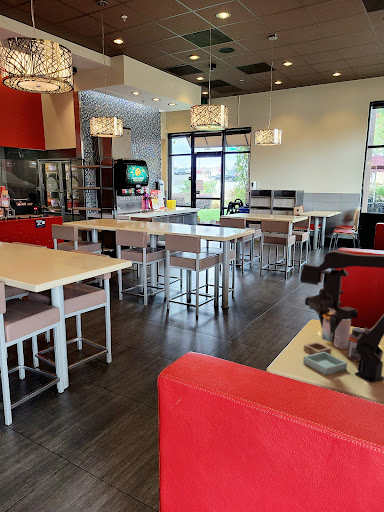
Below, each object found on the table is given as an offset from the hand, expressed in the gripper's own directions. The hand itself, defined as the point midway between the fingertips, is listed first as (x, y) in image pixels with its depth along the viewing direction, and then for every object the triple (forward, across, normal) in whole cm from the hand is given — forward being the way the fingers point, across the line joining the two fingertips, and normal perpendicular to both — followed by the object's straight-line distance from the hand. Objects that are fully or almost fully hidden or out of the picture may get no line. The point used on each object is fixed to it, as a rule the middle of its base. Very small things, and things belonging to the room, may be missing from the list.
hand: (327, 330), depth 132 cm
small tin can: (+3, 0, 0) cm, 3 cm away
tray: (+13, 0, -1) cm, 13 cm away
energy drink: (+13, -10, +19) cm, 25 cm away
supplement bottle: (+13, 0, +15) cm, 20 cm away
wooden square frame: (+13, -10, +6) cm, 17 cm away
